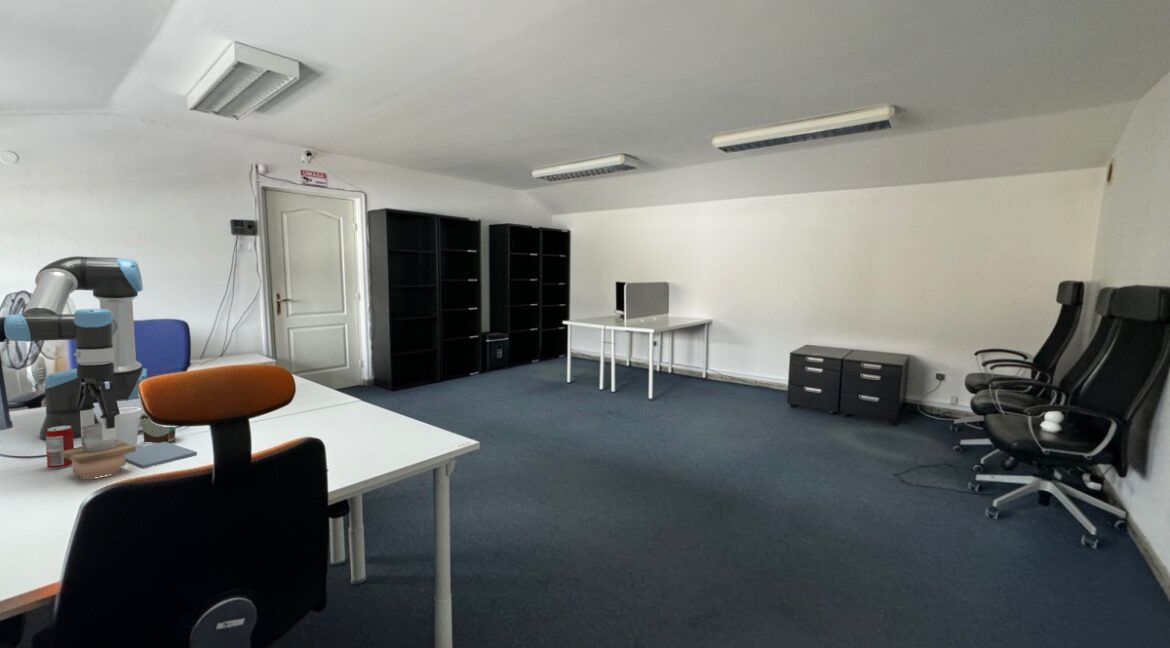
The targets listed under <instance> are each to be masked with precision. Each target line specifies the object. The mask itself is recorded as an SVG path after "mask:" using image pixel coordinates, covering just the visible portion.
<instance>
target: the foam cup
mask: <svg viewBox="0 0 1170 648" xmlns="http://www.w3.org/2000/svg"><path fill="white" fill-rule="evenodd" d="M118 408H119V412H120V414H119V415H116V416H115V418H116V438H115V439H116V440H118V441H121V442H124V443H127V444H130V445H132V446H135V447H136V448H137V443H138V436H139V429H140V428H139V426H140V421H141V420H140V416H141V414H142V408H141V407H137V406H128V407H118ZM101 415H103V414H102V413H101Z"/></svg>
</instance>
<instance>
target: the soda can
mask: <svg viewBox="0 0 1170 648" xmlns="http://www.w3.org/2000/svg"><path fill="white" fill-rule="evenodd" d="M74 443H75V442H74V438H73V430H72V428H71V426H58V427H52V428H49V429H47V432H46V440H45V446H46V447H45V448H46V464H47V465H46V467H47V468H48V469H51V470H58V469H57V468H60V469H64V468H63V467H65V468H68V467H71V466H72V460H69V459H67V458H64V457H62V455H61V451H64V450H69V449H74V447H75V446H74ZM70 465H71V466H70ZM67 466H68V467H67Z"/></svg>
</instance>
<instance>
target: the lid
mask: <svg viewBox="0 0 1170 648" xmlns="http://www.w3.org/2000/svg"><path fill="white" fill-rule="evenodd" d="M80 438H81V447H80V446H79V447H75V448H74V449H69V450H64V451H61V455H62V457H64V458H67V459H69V460H72V461H74V462H76V463H79V464H83V463H87V462H92V461H96V460H101V459H105V458H109V457H114V456H118V455H123V454H127V453H131V452H136V448H137V446H136V447H135V446H132V445H130V444H127V443H124V442H121V441H118V440H116V439H110V440H105V441H103V440H102V422H100V423H99V424H93V425H87V426H82V427H81V437H80Z"/></svg>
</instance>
